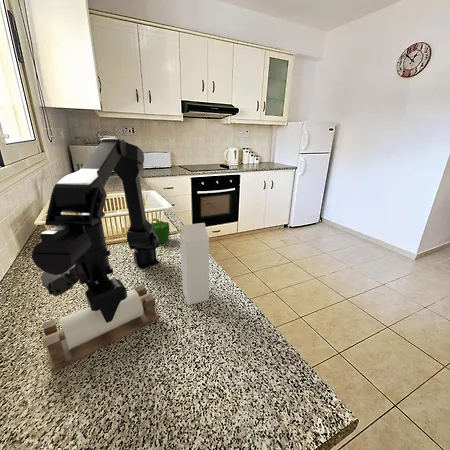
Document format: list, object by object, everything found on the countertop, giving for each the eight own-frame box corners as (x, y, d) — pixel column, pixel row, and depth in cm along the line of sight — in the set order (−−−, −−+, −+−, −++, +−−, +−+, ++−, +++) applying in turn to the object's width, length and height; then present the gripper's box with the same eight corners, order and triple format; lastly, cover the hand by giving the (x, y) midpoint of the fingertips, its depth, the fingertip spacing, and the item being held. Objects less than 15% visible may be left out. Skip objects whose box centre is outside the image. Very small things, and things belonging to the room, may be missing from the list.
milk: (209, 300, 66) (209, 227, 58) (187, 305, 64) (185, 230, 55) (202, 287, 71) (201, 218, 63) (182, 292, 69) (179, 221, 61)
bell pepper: (174, 239, 102) (173, 217, 98) (162, 247, 95) (160, 223, 91) (158, 235, 105) (157, 214, 101) (146, 242, 98) (143, 220, 94)
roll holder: (146, 304, 64) (144, 283, 61) (158, 318, 59) (156, 297, 56) (47, 348, 50) (39, 324, 48) (52, 372, 45) (43, 347, 43)
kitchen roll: (144, 292, 63) (147, 279, 58) (155, 312, 60) (159, 301, 56) (42, 334, 49) (36, 321, 45) (49, 364, 46) (44, 353, 42)
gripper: (33, 240, 48) (51, 302, 54) (45, 283, 35) (68, 359, 41) (93, 227, 55) (104, 284, 60) (122, 259, 42) (132, 327, 47)
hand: (102, 309), depth 52 cm, fingers open, 9 cm apart
